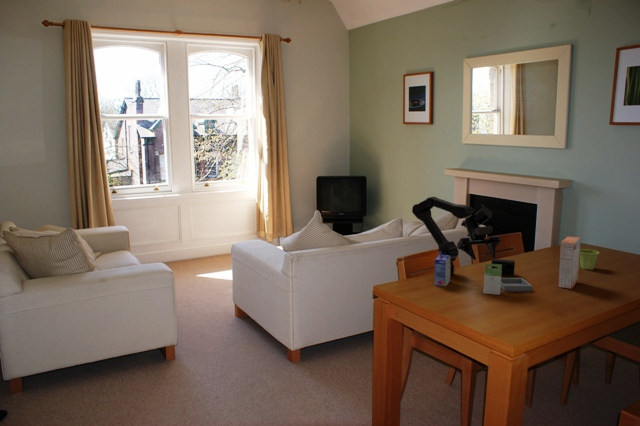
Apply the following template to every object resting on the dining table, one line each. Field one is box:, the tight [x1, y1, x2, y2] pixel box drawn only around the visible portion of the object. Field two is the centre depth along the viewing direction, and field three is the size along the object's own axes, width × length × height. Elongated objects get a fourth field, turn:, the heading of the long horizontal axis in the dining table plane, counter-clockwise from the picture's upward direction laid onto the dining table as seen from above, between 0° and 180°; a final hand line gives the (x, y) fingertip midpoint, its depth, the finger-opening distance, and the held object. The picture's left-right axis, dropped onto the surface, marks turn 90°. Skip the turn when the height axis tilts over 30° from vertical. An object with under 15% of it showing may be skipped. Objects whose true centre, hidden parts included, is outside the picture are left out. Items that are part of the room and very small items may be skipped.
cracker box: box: [558, 235, 581, 290], centre depth 244 cm, size 14×6×21 cm, turn 145°
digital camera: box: [490, 258, 516, 277], centre depth 261 cm, size 10×5×7 cm, turn 72°
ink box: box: [482, 263, 502, 296], centre depth 233 cm, size 7×4×13 cm, turn 71°
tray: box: [500, 277, 533, 293], centre depth 242 cm, size 12×12×2 cm
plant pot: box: [579, 248, 600, 271], centre depth 272 cm, size 9×9×9 cm
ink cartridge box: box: [434, 251, 451, 287], centre depth 247 cm, size 10×6×14 cm, turn 155°
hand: (484, 258), depth 239 cm, fingers open, 9 cm apart
